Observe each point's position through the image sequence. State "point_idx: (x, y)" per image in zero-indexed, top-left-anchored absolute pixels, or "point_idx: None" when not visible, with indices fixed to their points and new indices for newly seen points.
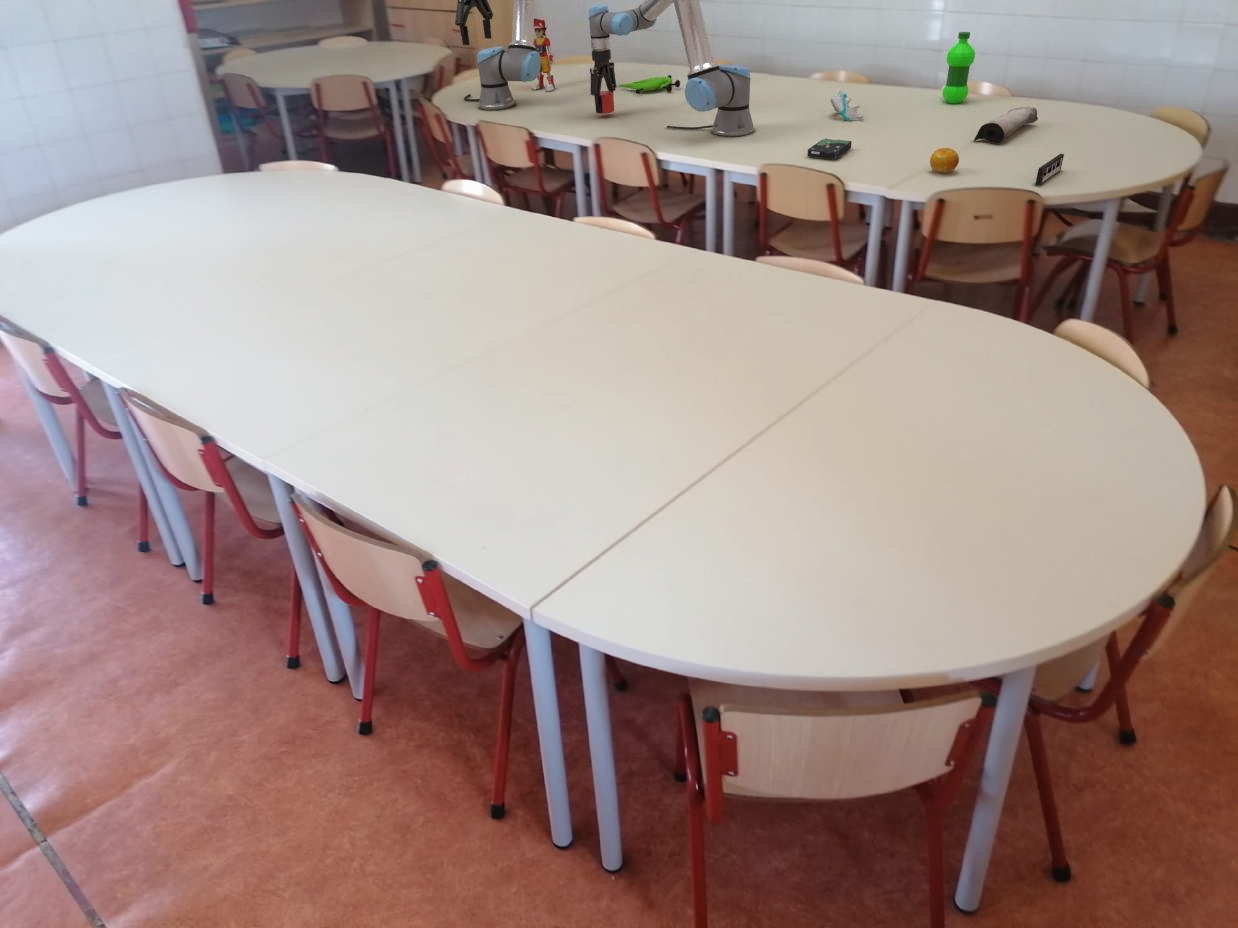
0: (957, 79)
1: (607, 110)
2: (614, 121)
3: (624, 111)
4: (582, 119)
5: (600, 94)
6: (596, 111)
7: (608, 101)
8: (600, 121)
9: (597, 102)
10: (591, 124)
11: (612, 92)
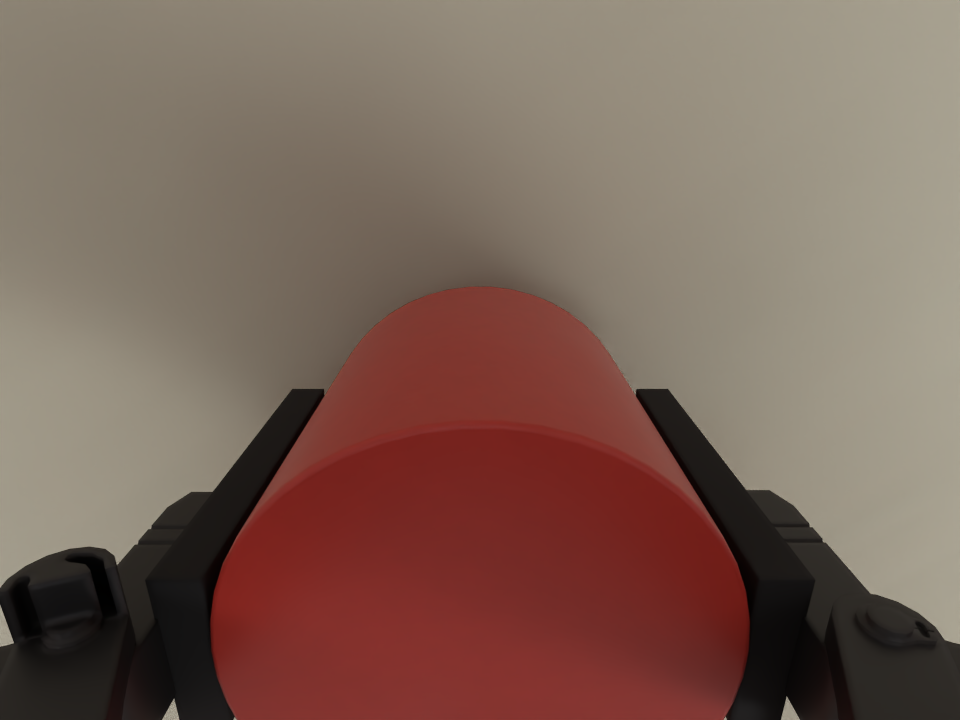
0: None
1: (586, 337)
2: (671, 109)
3: (101, 318)
4: None
5: (677, 658)
6: None
7: (590, 379)
8: (728, 320)
9: (805, 527)
10: (912, 345)
11: (326, 487)
